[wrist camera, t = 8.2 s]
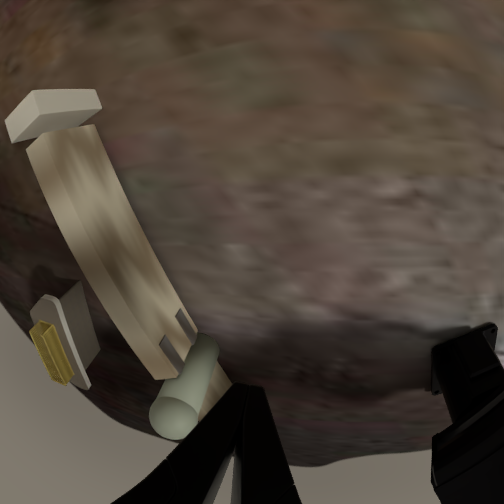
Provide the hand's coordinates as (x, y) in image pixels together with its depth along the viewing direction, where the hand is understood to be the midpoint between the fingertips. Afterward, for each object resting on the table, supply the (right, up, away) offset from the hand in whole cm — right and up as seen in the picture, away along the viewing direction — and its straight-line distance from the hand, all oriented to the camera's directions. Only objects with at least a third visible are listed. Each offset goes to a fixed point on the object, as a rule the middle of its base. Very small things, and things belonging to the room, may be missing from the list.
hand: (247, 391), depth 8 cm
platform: (-15, -2, +17) cm, 23 cm away
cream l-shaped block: (-11, +13, +9) cm, 19 cm away
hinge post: (-4, -4, +16) cm, 17 cm away
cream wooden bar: (-8, +5, +12) cm, 15 cm away
